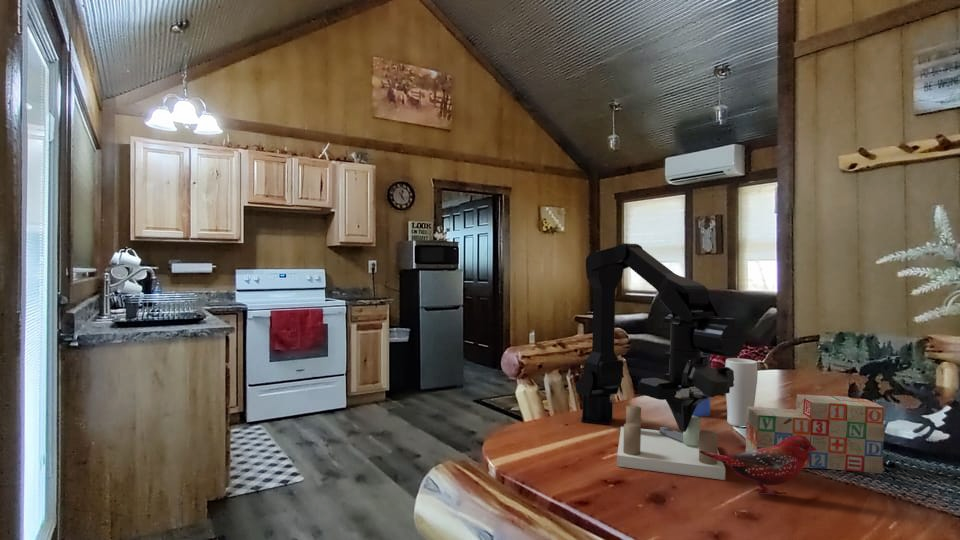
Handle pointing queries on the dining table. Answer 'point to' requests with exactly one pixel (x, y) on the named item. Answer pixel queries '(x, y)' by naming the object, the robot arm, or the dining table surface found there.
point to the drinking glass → (741, 390)
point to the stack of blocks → (824, 431)
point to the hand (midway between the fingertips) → (682, 431)
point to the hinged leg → (689, 435)
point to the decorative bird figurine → (770, 462)
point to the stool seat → (666, 450)
